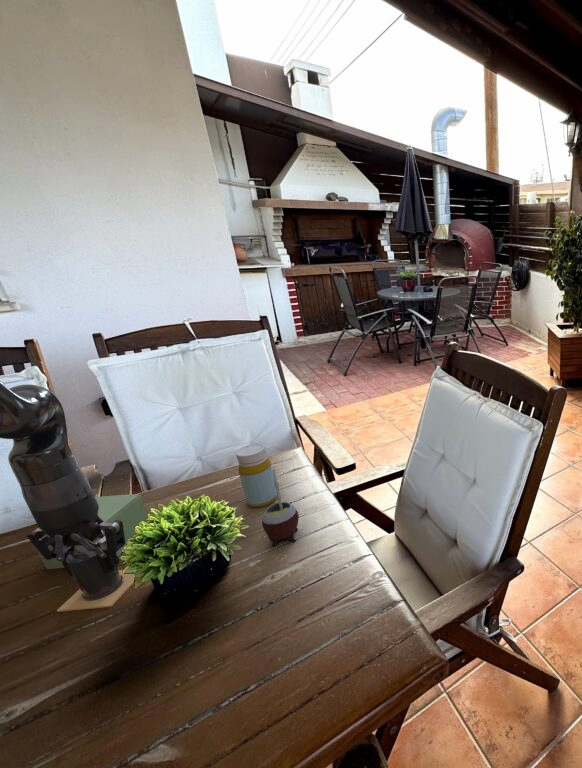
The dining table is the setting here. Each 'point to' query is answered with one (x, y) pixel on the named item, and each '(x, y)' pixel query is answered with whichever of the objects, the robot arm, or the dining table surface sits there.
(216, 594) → the dining table surface
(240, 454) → the bottle
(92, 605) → the coaster
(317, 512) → the dining table surface
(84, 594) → the holder
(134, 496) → the block
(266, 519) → the mate gourd
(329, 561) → the dining table surface
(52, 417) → the robot arm
